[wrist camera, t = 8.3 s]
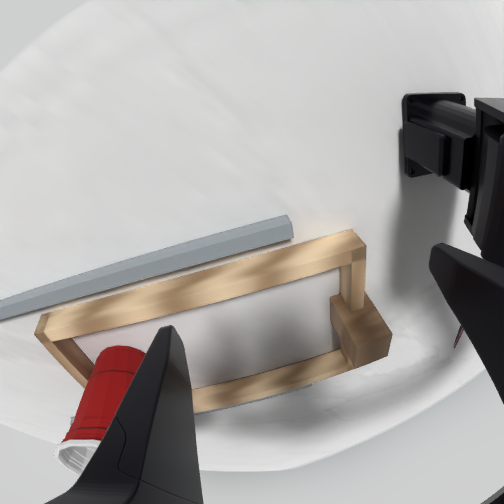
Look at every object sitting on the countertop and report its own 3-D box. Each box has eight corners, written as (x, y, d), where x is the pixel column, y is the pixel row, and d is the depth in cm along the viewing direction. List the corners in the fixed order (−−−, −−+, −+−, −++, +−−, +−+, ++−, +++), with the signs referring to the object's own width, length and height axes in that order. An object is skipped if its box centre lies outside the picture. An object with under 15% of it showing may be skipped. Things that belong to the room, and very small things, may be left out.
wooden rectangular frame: (363, 225, 23) (403, 271, 19) (357, 348, 33) (378, 390, 28) (41, 314, 22) (22, 367, 17) (124, 406, 32) (123, 450, 27)
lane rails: (286, 214, 22) (291, 222, 21) (309, 377, 34) (312, 385, 33) (-33, 311, 20) (-38, 319, 19) (76, 421, 33) (75, 428, 32)
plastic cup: (133, 308, 24) (123, 447, 14) (198, 373, 30) (212, 483, 20) (51, 345, 25) (27, 456, 15) (119, 398, 31) (117, 493, 21)
